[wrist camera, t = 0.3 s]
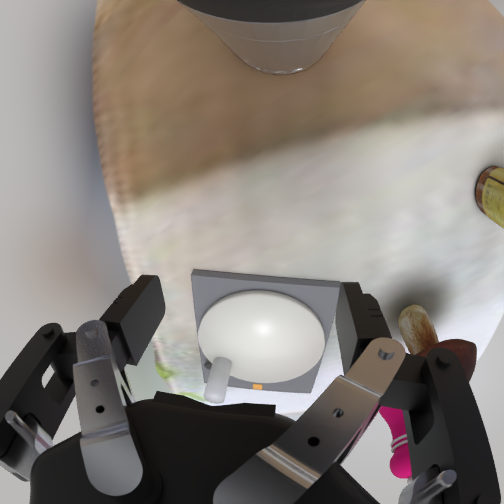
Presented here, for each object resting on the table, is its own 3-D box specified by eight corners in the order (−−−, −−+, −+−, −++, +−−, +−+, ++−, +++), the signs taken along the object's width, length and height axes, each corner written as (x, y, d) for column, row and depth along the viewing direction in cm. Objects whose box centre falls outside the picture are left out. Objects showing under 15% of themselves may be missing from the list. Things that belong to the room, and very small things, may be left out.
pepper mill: (389, 359, 38) (415, 478, 20) (421, 365, 38) (450, 472, 21) (363, 385, 41) (377, 496, 24) (395, 390, 42) (413, 491, 24)
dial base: (193, 269, 34) (190, 275, 32) (340, 281, 32) (341, 288, 31) (206, 377, 44) (204, 383, 43) (310, 387, 42) (310, 393, 41)
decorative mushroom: (456, 300, 32) (501, 383, 19) (401, 350, 37) (426, 436, 24) (413, 260, 30) (468, 356, 17) (352, 321, 35) (371, 423, 22)
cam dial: (276, 266, 30) (272, 310, 24) (345, 350, 36) (351, 393, 29) (167, 328, 37) (149, 368, 31) (242, 390, 42) (235, 428, 36)
